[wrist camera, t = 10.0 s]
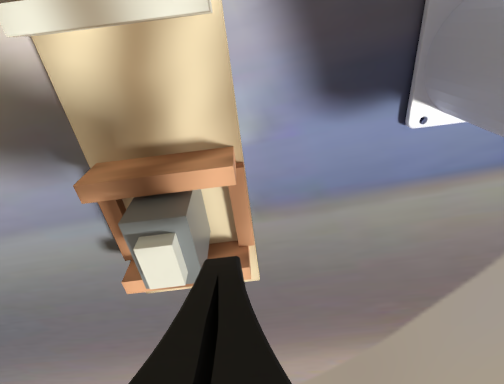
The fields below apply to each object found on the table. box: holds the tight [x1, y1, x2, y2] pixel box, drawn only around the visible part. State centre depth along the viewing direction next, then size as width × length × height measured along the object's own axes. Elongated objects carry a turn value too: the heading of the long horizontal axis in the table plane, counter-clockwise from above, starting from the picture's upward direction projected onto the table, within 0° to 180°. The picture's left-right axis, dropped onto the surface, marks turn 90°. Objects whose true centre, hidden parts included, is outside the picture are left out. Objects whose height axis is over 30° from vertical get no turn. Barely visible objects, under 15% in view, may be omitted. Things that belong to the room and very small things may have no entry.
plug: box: [118, 189, 211, 289], centre depth 18 cm, size 4×5×6 cm
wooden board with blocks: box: [0, 0, 260, 294], centre depth 16 cm, size 10×32×4 cm, turn 6°
